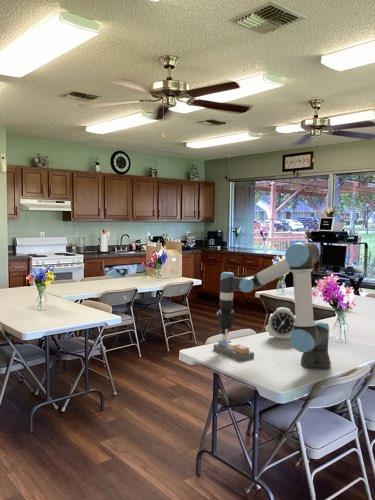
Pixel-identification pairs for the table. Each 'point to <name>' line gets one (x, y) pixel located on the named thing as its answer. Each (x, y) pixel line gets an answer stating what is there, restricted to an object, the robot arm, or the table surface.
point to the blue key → (224, 343)
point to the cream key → (232, 346)
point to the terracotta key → (242, 349)
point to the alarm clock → (281, 324)
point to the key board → (233, 353)
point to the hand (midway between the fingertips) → (224, 339)
